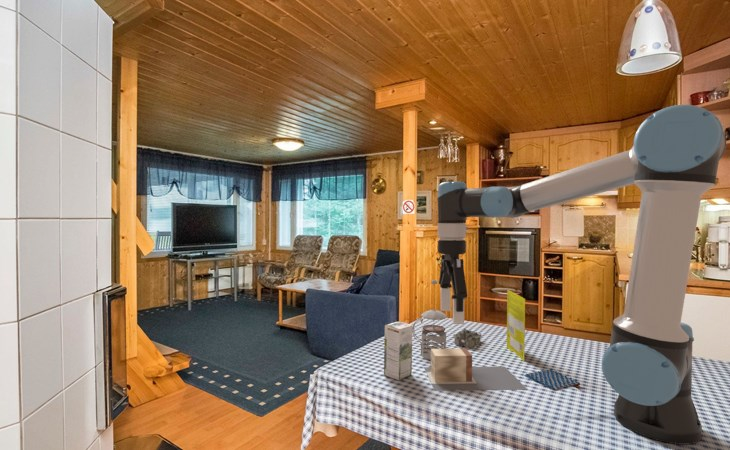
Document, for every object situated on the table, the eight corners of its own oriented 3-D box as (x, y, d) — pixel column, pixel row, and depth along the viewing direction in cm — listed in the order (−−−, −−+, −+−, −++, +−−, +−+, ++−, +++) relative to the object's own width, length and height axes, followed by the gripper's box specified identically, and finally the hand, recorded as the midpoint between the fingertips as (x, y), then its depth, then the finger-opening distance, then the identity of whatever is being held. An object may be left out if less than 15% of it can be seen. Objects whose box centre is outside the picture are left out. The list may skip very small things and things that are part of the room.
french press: (447, 365, 115) (448, 283, 115) (409, 361, 119) (410, 281, 119) (451, 354, 125) (451, 278, 124) (415, 350, 128) (416, 276, 128)
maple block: (434, 381, 102) (435, 355, 102) (430, 373, 108) (430, 348, 107) (471, 381, 102) (472, 355, 102) (465, 373, 108) (466, 348, 108)
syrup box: (396, 369, 113) (396, 320, 112) (412, 375, 108) (412, 324, 108) (383, 375, 109) (383, 324, 108) (399, 381, 104) (399, 328, 104)
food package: (526, 364, 117) (526, 299, 117) (522, 364, 117) (523, 299, 117) (508, 347, 132) (509, 289, 132) (505, 346, 133) (505, 289, 132)
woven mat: (521, 380, 107) (521, 373, 107) (549, 374, 111) (549, 367, 111) (553, 396, 97) (553, 388, 97) (582, 389, 101) (582, 381, 101)
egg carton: (471, 349, 130) (471, 337, 130) (451, 345, 135) (451, 333, 135) (483, 341, 139) (483, 330, 138) (464, 337, 143) (464, 326, 143)
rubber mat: (527, 392, 98) (527, 389, 98) (434, 393, 97) (434, 390, 97) (504, 369, 113) (504, 366, 113) (423, 369, 112) (423, 366, 112)
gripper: (480, 241, 92) (480, 329, 92) (453, 236, 117) (453, 306, 117) (449, 241, 92) (449, 330, 92) (428, 236, 117) (428, 306, 117)
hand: (451, 317), depth 105 cm, fingers open, 13 cm apart
